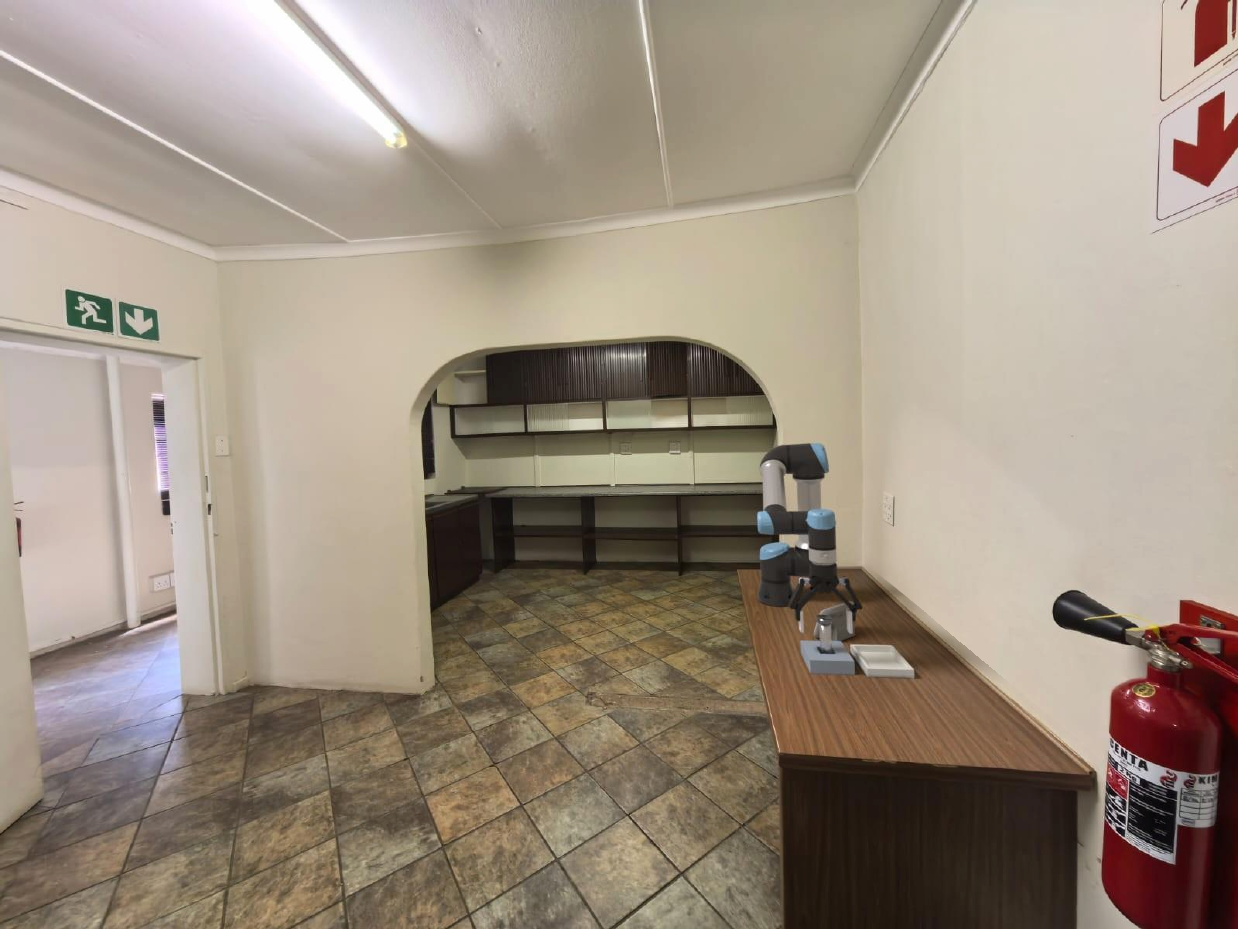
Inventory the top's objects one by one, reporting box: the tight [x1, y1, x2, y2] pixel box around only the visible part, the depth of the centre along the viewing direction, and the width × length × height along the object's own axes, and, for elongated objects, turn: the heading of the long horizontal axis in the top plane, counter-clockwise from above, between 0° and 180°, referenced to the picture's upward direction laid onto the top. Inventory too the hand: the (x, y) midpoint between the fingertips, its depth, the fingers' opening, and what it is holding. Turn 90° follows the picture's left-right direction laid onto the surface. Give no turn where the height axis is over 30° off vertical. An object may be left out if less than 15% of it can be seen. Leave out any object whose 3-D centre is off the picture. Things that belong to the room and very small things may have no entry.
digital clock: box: [813, 600, 856, 642], centre depth 149 cm, size 16×9×11 cm, turn 104°
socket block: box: [800, 640, 856, 676], centre depth 132 cm, size 12×12×4 cm
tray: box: [849, 644, 915, 679], centre depth 130 cm, size 14×12×2 cm
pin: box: [816, 614, 833, 654], centre depth 132 cm, size 4×4×14 cm
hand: (825, 631), depth 132 cm, fingers open, 13 cm apart
